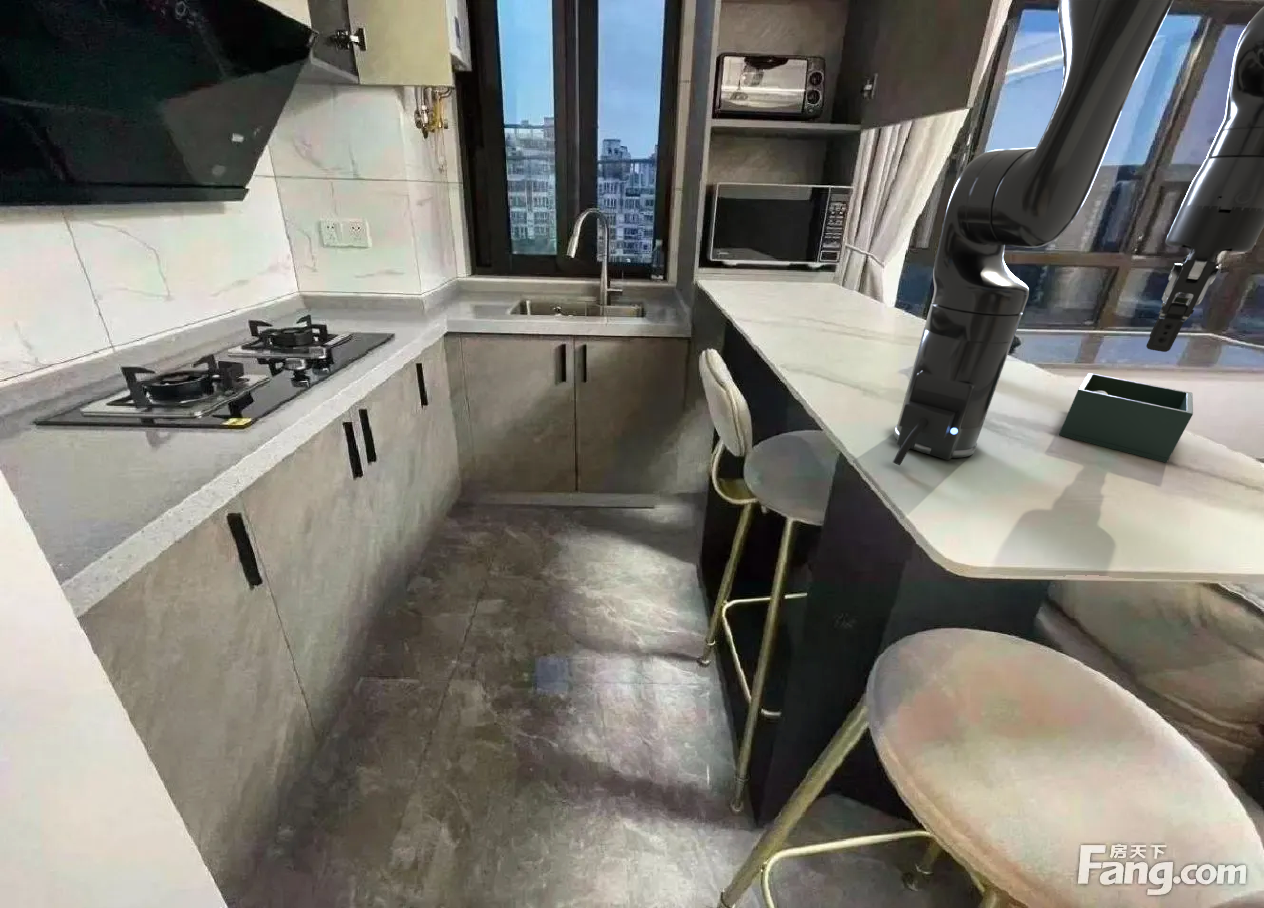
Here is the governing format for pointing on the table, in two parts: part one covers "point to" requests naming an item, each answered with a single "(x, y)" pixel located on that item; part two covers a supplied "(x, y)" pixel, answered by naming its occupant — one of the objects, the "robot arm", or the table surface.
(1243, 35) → the robot arm
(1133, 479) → the table surface
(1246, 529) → the table surface
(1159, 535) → the table surface
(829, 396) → the table surface
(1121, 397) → the waste bin
